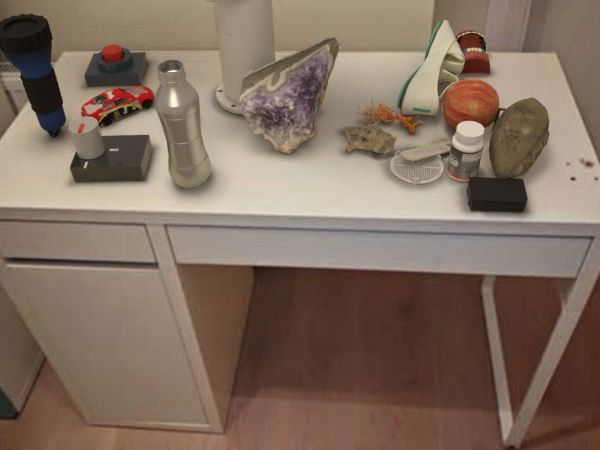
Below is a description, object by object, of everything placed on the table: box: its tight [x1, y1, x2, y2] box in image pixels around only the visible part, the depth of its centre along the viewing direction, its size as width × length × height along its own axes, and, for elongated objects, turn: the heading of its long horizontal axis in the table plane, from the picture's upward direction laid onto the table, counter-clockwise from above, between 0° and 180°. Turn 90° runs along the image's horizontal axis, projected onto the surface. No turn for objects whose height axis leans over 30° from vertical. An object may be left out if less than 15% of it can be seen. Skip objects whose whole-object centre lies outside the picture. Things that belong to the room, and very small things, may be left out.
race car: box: [80, 85, 155, 127], centre depth 115 cm, size 13×5×4 cm, turn 127°
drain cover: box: [389, 150, 445, 185], centre depth 102 cm, size 8×8×1 cm
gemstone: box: [240, 36, 343, 155], centre depth 105 cm, size 18×16×14 cm
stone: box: [488, 97, 550, 178], centre depth 100 cm, size 17×9×8 cm, turn 156°
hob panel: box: [63, 134, 153, 183], centre depth 104 cm, size 13×9×3 cm
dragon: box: [355, 97, 424, 134], centre depth 109 cm, size 4×11×4 cm, turn 68°
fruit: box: [442, 78, 507, 135], centre depth 106 cm, size 9×10×10 cm
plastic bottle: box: [153, 58, 212, 189], centre depth 95 cm, size 6×7×20 cm
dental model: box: [455, 29, 491, 74], centre depth 122 cm, size 7×5×10 cm
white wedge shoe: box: [396, 19, 465, 116], centre depth 115 cm, size 8×24×8 cm
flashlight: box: [0, 13, 67, 138], centre depth 105 cm, size 8×8×20 cm
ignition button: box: [101, 44, 123, 62], centre depth 122 cm, size 4×4×2 cm
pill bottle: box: [446, 121, 486, 182], centre depth 98 cm, size 5×5×8 cm
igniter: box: [83, 46, 148, 88], centre depth 124 cm, size 10×8×4 cm
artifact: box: [342, 121, 398, 154], centre depth 106 cm, size 7×3×10 cm
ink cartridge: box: [466, 176, 529, 214], centre depth 96 cm, size 5×2×8 cm
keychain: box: [401, 140, 452, 162], centre depth 104 cm, size 10×1×3 cm
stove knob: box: [67, 116, 105, 159], centre depth 101 cm, size 4×4×5 cm
